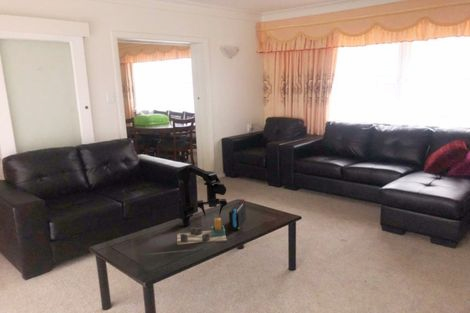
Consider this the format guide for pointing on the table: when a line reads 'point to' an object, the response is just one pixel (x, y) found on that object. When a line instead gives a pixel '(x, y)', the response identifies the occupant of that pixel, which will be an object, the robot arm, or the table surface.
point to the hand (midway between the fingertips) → (212, 215)
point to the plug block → (217, 223)
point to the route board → (199, 238)
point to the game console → (237, 215)
